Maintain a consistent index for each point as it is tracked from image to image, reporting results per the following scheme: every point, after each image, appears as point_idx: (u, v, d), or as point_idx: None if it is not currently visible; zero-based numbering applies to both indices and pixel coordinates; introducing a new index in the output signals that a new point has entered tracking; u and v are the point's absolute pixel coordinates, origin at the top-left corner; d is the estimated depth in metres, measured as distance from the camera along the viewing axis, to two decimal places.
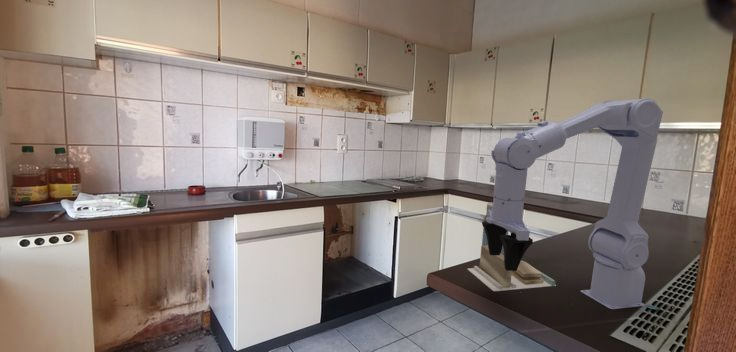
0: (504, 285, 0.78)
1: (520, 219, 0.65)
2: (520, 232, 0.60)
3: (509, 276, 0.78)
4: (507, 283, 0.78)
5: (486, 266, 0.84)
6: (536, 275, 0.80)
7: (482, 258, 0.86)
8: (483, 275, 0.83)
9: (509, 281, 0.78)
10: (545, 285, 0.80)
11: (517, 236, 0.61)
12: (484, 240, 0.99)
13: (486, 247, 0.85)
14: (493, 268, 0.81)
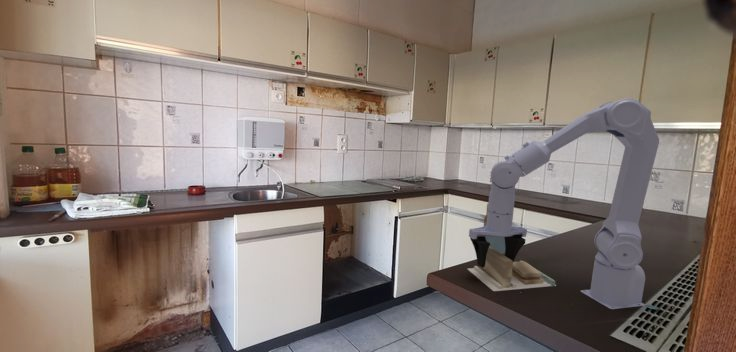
0: (504, 285, 0.78)
1: (494, 228, 0.78)
2: (469, 230, 0.80)
3: (509, 276, 0.78)
4: (507, 283, 0.78)
5: (486, 266, 0.84)
6: (536, 275, 0.80)
7: None
8: (483, 275, 0.83)
9: (509, 281, 0.78)
10: (545, 285, 0.80)
11: None
12: None
13: None
14: (493, 268, 0.81)
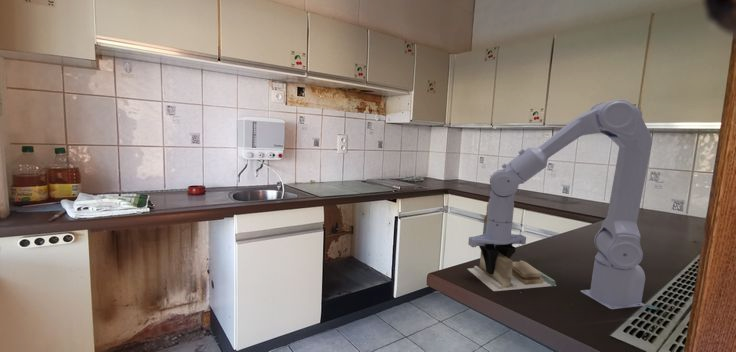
0: (504, 285, 0.78)
1: (493, 236, 0.79)
2: (469, 238, 0.80)
3: (509, 276, 0.78)
4: (507, 283, 0.78)
5: None
6: (536, 275, 0.80)
7: (482, 258, 0.86)
8: (483, 275, 0.83)
9: (509, 281, 0.78)
10: (545, 285, 0.80)
11: None
12: None
13: None
14: None
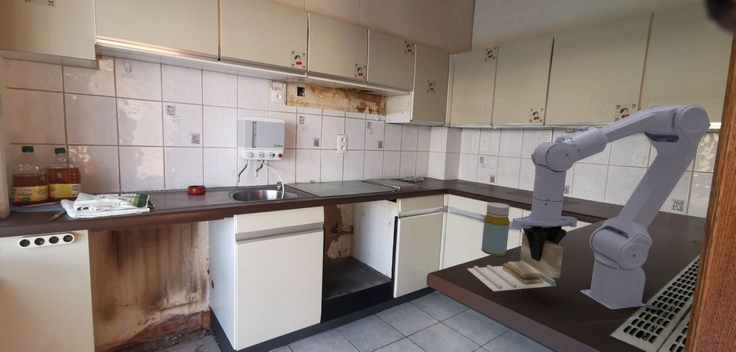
0: (553, 275, 0.69)
1: (541, 217, 0.69)
2: (513, 220, 0.71)
3: (559, 265, 0.68)
4: (556, 272, 0.69)
5: (529, 254, 0.75)
6: (536, 275, 0.80)
7: (523, 246, 0.77)
8: (483, 275, 0.83)
9: (559, 270, 0.69)
10: (545, 285, 0.80)
11: None
12: (484, 240, 0.99)
13: None
14: None
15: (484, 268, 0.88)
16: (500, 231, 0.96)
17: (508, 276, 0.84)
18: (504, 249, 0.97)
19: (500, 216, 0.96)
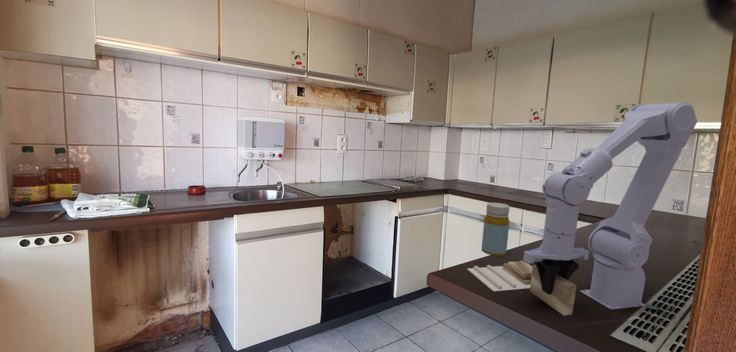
0: (566, 313, 0.67)
1: (554, 251, 0.68)
2: (524, 253, 0.69)
3: (572, 303, 0.67)
4: (569, 310, 0.67)
5: (540, 288, 0.73)
6: None
7: (534, 279, 0.75)
8: (483, 275, 0.83)
9: (571, 308, 0.67)
10: None
11: None
12: (484, 240, 0.99)
13: None
14: None
15: (484, 268, 0.88)
16: (500, 231, 0.96)
17: (508, 276, 0.84)
18: (504, 249, 0.97)
19: (500, 216, 0.96)
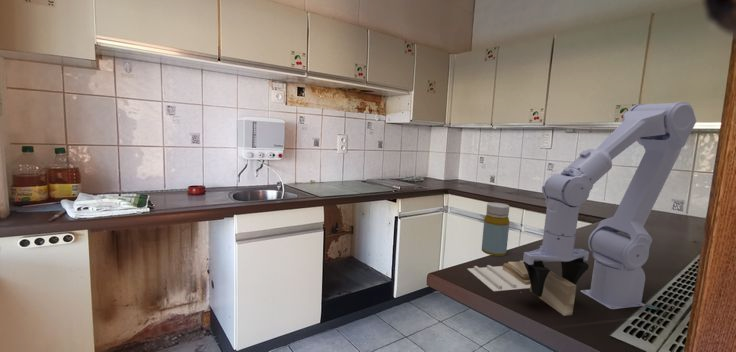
0: (566, 313, 0.67)
1: (553, 252, 0.68)
2: (524, 254, 0.69)
3: (572, 303, 0.67)
4: (569, 310, 0.67)
5: None
6: None
7: None
8: (483, 275, 0.83)
9: (571, 308, 0.67)
10: None
11: None
12: (484, 240, 0.99)
13: None
14: (549, 292, 0.71)
15: (484, 268, 0.88)
16: (500, 231, 0.96)
17: (508, 276, 0.84)
18: (504, 249, 0.97)
19: (500, 217, 0.96)
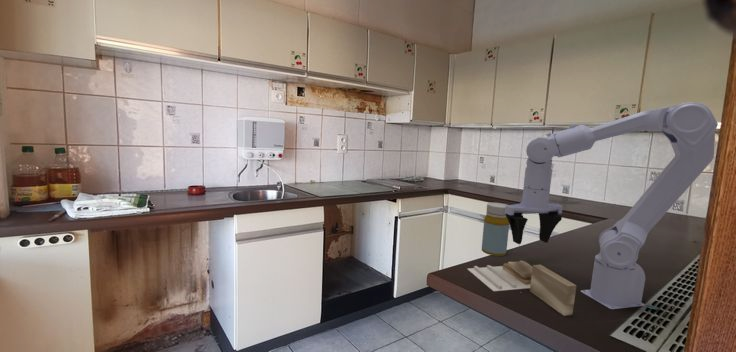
0: (566, 313, 0.67)
1: (531, 204, 0.78)
2: (506, 207, 0.80)
3: (572, 303, 0.67)
4: (569, 310, 0.67)
5: (540, 288, 0.73)
6: None
7: (534, 279, 0.75)
8: (483, 275, 0.83)
9: (571, 308, 0.67)
10: None
11: None
12: (484, 240, 0.99)
13: (539, 267, 0.75)
14: (549, 292, 0.71)
15: (484, 268, 0.88)
16: (500, 231, 0.96)
17: (508, 276, 0.84)
18: (504, 249, 0.97)
19: (500, 216, 0.96)
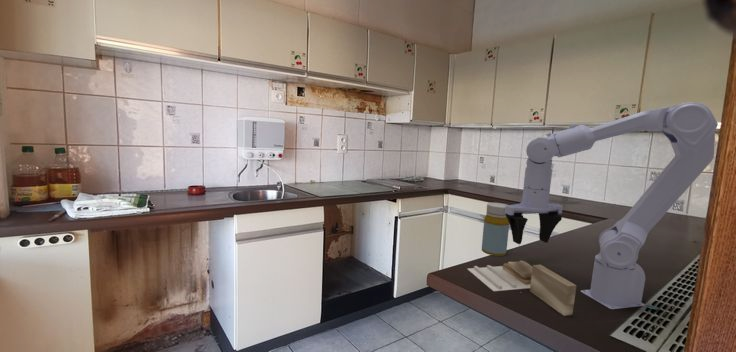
0: (566, 313, 0.67)
1: (531, 204, 0.78)
2: (506, 207, 0.80)
3: (572, 303, 0.67)
4: (569, 310, 0.67)
5: (540, 288, 0.73)
6: None
7: (534, 279, 0.75)
8: (483, 275, 0.83)
9: (571, 308, 0.67)
10: None
11: None
12: (484, 240, 0.99)
13: (539, 267, 0.75)
14: (549, 292, 0.71)
15: (484, 268, 0.88)
16: (500, 231, 0.96)
17: (508, 276, 0.84)
18: (504, 249, 0.97)
19: (500, 216, 0.96)
